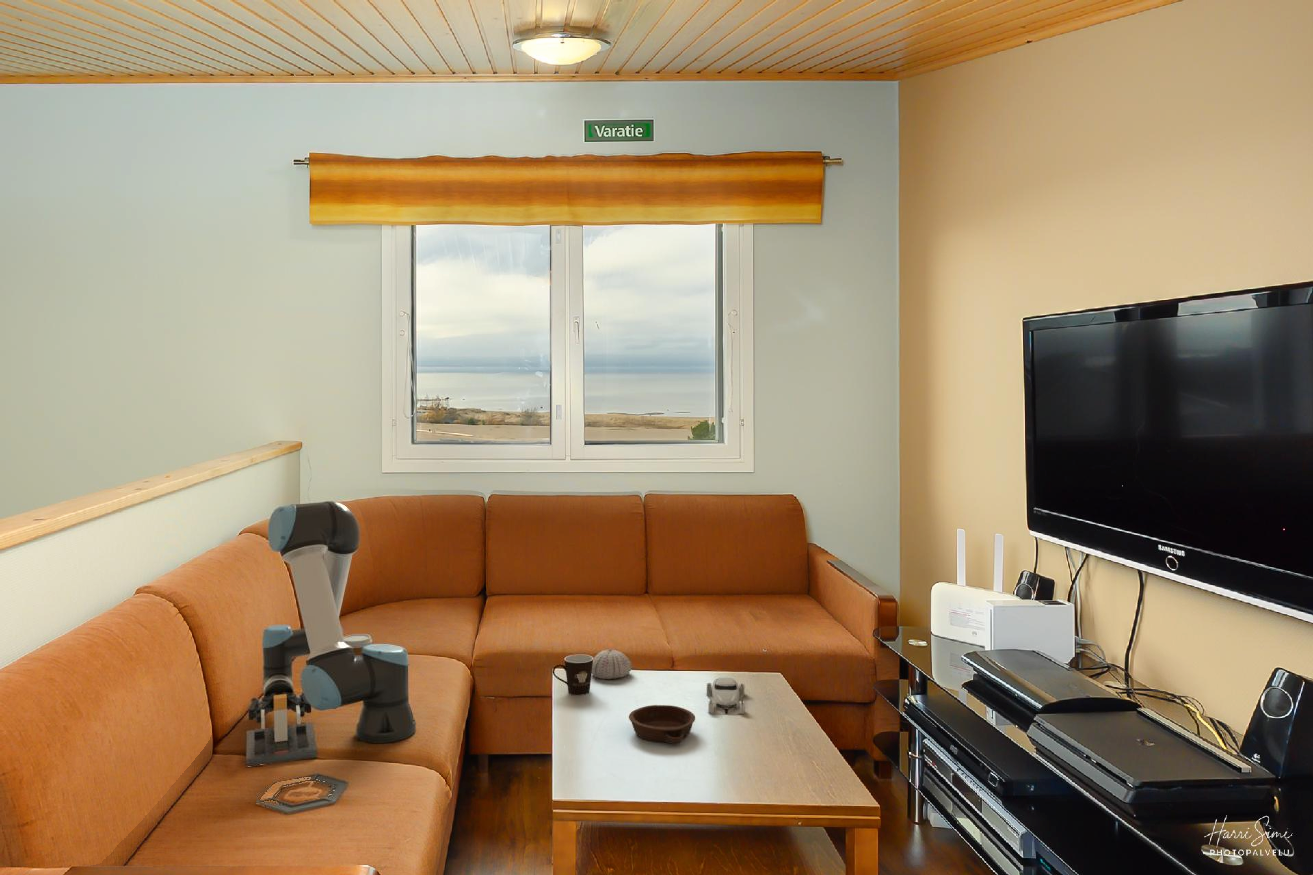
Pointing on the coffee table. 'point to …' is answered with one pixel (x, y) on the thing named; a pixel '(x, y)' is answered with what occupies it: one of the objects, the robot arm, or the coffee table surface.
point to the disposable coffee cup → (358, 642)
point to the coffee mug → (577, 673)
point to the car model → (726, 697)
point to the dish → (662, 723)
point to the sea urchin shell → (610, 665)
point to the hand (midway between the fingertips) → (281, 721)
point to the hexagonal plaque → (291, 808)
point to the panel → (280, 745)
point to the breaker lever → (280, 718)
